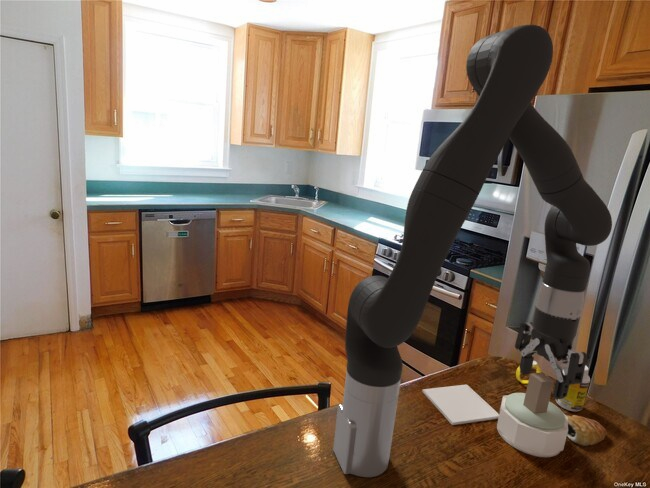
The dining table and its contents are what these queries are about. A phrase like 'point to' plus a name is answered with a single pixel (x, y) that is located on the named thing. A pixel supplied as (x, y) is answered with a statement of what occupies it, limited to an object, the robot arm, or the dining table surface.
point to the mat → (460, 404)
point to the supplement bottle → (576, 394)
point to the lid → (536, 404)
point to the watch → (520, 373)
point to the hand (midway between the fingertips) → (540, 385)
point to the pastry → (585, 430)
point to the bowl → (530, 435)
